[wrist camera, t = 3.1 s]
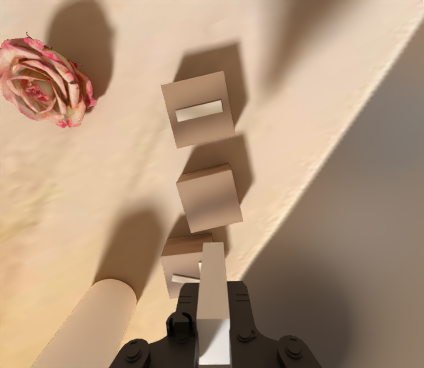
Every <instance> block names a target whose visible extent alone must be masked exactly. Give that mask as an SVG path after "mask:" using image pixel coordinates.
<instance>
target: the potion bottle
mask: <svg viewBox="0 0 424 368" xmlns="http://www.w3.org/2000/svg"><path fill="white" fill-rule="evenodd" d="M136 303H137V299H136V295H135V293H134V291H133V290H132V288H131V287H130V286H128V285H127V284H126V283H124V282H122V281H120V280H115V279H105V280H101V281H99V282H96V283H95V284H94V285H93V286H91V287H90V288H89V290H88V291H87V292H86V294H85V295H84V296H83V298H82V299H81V300H80V302H79V303H78V304H77V306H76V307H75V308H74V310H73V311H72V312H71V314H70V315H69V316H68V318H67V319H66V321H65V322H64V323H63V325H62V326H61V327H60V329H59V330H58V331H57V333H56V334H55V335H54V337H53V338H52V339H51V341H50V342H49V343H48V345H47V346H46V347H45V349H44V350H43V351H42V353H41V354H40V355H39V357H38V358H37V359H36V361H35V362H34V363H33V365H32V366H31V367H30V368H109V366H110V365H111V363H112V362H113V360H114V359H115V357H116V355H117V353H118V350H119V348H120V345H121V343H122V340H123V338H124V336H125V333H126V331H127V328H128V326H129V323H130V321H131V319H132V316H133V314H134V311H135V309H136Z"/></svg>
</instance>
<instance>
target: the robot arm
mask: <svg viewBox="0 0 424 368" xmlns="http://www.w3.org/2000/svg"><path fill="white" fill-rule="evenodd" d="M166 327H167V336H166V337H164V338H163V339H161V340H159V341H156V342H153V343H150V344H148V343H147V341H145V340H143V339H134V340H131V341H129V342H128V343H126V344H125V345H124V346H123V347H122V348H121V350H120V351H119V353H118V354H117V356H116V357H115V359H114V360H113V362H112V363H111V365H110V366H109V368H199V364H230V368H322V367H321V366H320V364H319V363H318V361H317V360H316V358H315V357H314V355H313V354H312V352H311V351H310V349H309V348H308V347H307V345H306V344H305V343H304V342H303V341H302V340H300V339H299V338H297V337H294V336H291V335H288V336H283V337H282V338H280V340H279V341H276V340H273V339H270V338H267V337H265V336H263V335H262V334H261V333H260V332H259V331H258V330H257V328H256V326H255V324H254V319H253V314H252V309H251V304H250V299H249V295H248V290H247V287H246V285H245V284H244V283H243V282H242V281H227V279H226V267H225V255H224V243H223V242H209V243H203V252H202V263H201V274H200V283H184V285H183V286H182V288H181V289H180V293H179V298H178V304H177V308H176V312H174V313H172V314H171V315H170V316H169V317H168V319H167V321H166Z"/></svg>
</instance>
